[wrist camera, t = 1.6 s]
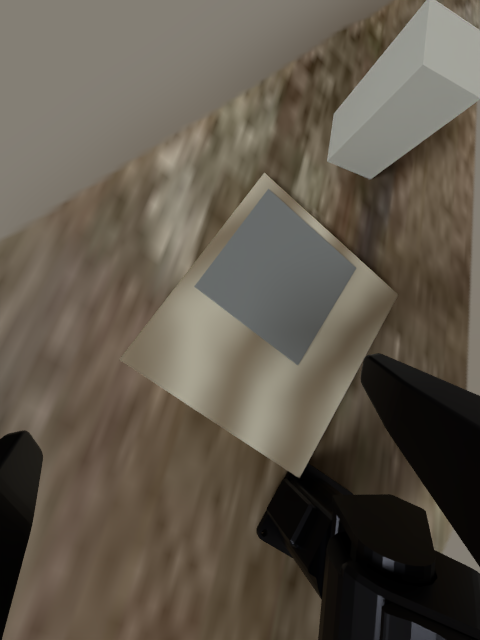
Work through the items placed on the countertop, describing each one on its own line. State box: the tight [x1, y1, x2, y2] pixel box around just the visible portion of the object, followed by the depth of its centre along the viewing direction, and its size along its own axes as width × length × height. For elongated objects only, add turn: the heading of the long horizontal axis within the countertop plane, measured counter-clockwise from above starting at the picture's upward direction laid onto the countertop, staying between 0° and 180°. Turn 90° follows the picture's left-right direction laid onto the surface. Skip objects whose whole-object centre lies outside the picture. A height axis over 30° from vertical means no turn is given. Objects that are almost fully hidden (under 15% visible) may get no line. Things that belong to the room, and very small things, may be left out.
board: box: [119, 173, 398, 478], centre depth 24 cm, size 16×18×2 cm
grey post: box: [327, 0, 480, 179], centre depth 24 cm, size 5×5×10 cm
